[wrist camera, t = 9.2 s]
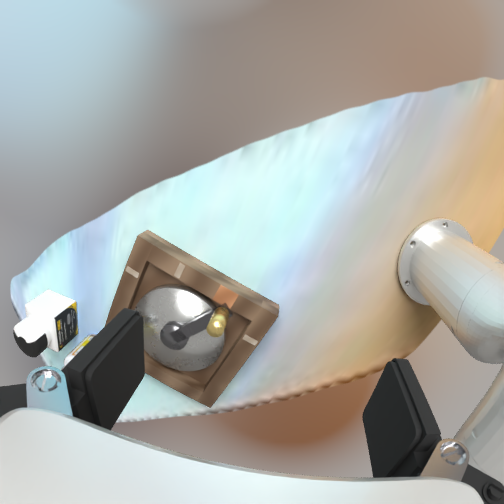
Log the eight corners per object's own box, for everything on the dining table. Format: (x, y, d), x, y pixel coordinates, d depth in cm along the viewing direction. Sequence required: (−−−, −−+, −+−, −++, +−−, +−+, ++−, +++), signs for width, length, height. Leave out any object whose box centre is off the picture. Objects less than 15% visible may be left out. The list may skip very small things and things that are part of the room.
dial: (174, 375, 48) (159, 404, 41) (120, 308, 45) (97, 331, 38) (259, 338, 44) (254, 369, 37) (203, 257, 41) (186, 277, 34)
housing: (279, 305, 43) (278, 316, 40) (214, 395, 50) (210, 408, 47) (147, 229, 42) (137, 235, 39) (108, 334, 49) (98, 344, 46)
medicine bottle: (79, 333, 50) (42, 369, 39) (51, 320, 50) (13, 351, 39) (77, 300, 48) (35, 333, 36) (48, 288, 48) (5, 316, 37)
